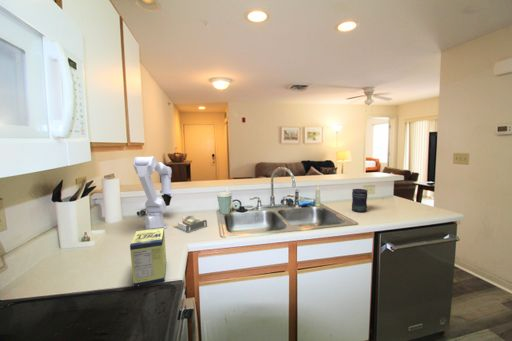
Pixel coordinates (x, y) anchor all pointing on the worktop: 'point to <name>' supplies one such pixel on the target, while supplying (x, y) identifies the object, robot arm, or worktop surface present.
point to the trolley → (190, 220)
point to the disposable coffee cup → (224, 201)
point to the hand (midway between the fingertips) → (167, 205)
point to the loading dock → (191, 226)
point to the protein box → (148, 256)
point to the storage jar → (359, 200)
